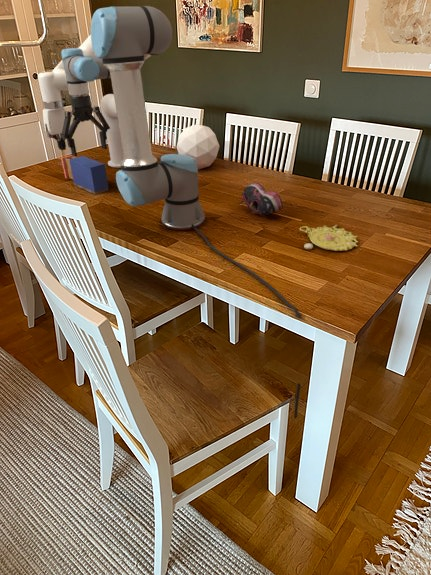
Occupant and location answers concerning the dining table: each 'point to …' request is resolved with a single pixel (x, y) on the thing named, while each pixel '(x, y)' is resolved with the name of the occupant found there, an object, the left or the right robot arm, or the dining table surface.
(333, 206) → the dining table surface
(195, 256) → the dining table surface
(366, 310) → the dining table surface
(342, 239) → the decorative object
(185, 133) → the sphere
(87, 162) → the cabinet
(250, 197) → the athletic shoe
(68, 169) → the drawer
